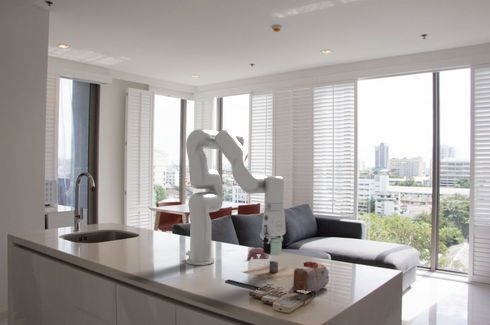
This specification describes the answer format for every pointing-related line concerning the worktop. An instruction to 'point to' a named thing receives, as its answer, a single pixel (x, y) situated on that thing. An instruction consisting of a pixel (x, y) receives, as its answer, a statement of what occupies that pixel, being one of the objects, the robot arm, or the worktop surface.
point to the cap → (275, 246)
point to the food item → (311, 277)
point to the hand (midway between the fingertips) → (272, 251)
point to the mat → (241, 285)
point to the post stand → (272, 271)
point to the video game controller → (254, 252)
